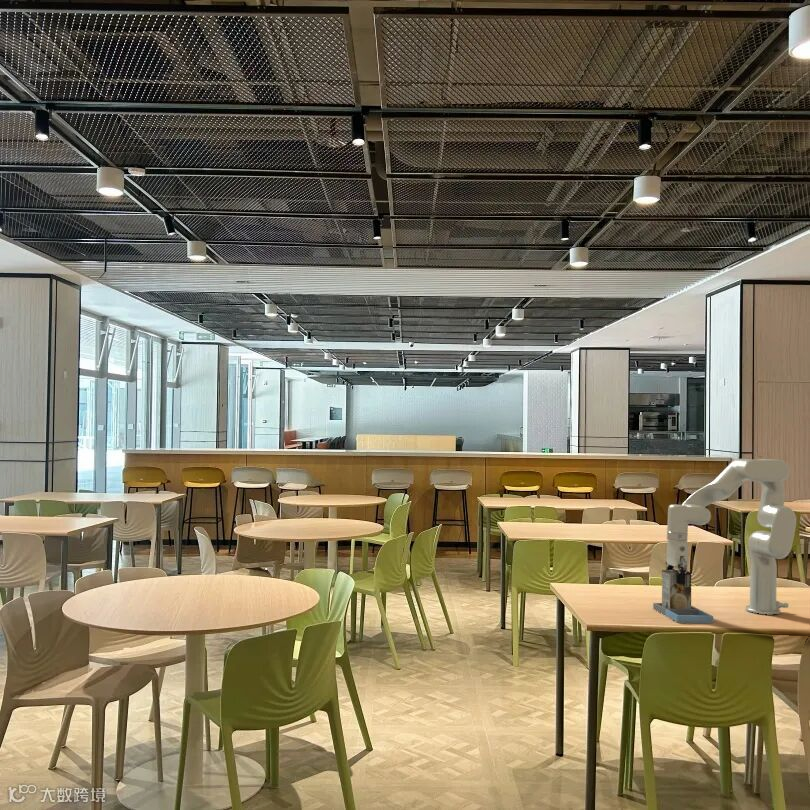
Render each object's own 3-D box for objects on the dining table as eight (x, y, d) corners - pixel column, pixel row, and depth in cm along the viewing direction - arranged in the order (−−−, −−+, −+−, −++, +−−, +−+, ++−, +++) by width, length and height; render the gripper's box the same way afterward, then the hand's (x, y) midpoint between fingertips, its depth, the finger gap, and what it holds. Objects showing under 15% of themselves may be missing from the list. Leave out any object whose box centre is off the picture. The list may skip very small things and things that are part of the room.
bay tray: (686, 609, 311) (686, 603, 312) (713, 623, 290) (713, 616, 290) (653, 609, 310) (653, 602, 310) (677, 622, 289) (677, 615, 289)
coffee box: (682, 610, 309) (683, 569, 310) (691, 614, 303) (692, 572, 304) (660, 611, 308) (661, 569, 308) (669, 614, 301) (670, 572, 302)
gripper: (696, 540, 298) (694, 586, 297) (676, 534, 315) (675, 577, 315) (677, 539, 297) (675, 585, 297) (658, 533, 315) (656, 577, 314)
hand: (675, 581), depth 306 cm, fingers open, 9 cm apart
